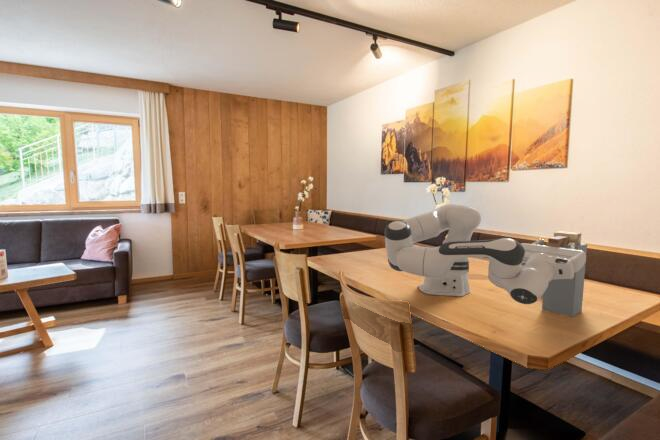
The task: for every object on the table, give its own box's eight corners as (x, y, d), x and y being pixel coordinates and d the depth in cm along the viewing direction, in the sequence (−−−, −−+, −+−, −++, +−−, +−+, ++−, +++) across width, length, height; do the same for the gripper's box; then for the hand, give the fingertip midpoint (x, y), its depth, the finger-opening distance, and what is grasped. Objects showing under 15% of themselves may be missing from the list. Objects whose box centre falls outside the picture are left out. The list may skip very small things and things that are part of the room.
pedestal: (572, 317, 121) (578, 246, 118) (541, 309, 129) (546, 242, 126) (581, 311, 127) (587, 243, 125) (551, 303, 135) (556, 240, 132)
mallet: (564, 248, 114) (565, 237, 114) (541, 245, 120) (542, 234, 119) (580, 243, 125) (581, 233, 124) (559, 241, 130) (559, 231, 130)
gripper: (511, 267, 121) (526, 245, 128) (578, 280, 105) (592, 254, 112) (507, 253, 119) (523, 231, 125) (576, 264, 103) (590, 238, 109)
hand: (556, 242), depth 118 cm, fingers open, 8 cm apart
